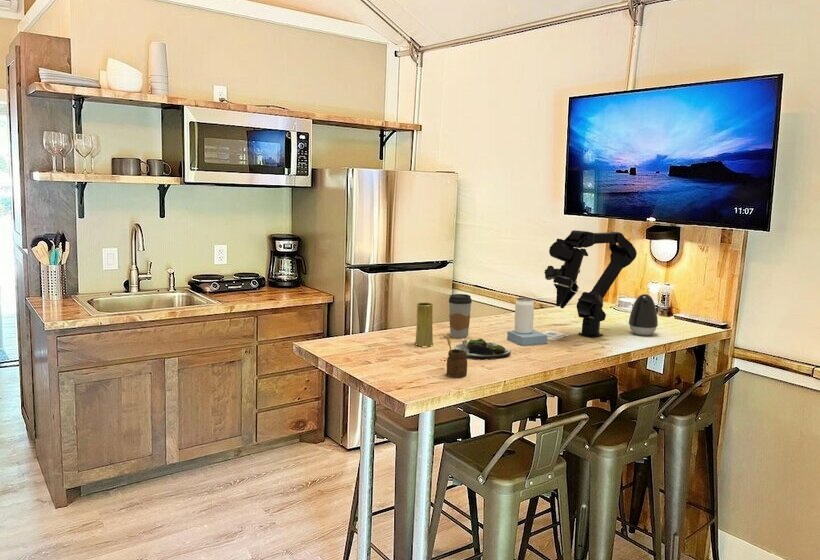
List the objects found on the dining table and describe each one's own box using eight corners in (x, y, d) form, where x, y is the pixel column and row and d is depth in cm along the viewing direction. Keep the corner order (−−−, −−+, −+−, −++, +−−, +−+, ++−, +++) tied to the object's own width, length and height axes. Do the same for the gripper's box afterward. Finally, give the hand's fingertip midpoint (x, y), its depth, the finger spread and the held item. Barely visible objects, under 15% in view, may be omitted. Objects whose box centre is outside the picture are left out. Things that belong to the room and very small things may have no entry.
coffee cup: (472, 334, 236) (473, 294, 234) (468, 340, 228) (469, 298, 226) (450, 333, 239) (451, 293, 236) (445, 338, 231) (446, 296, 228)
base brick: (530, 337, 234) (531, 329, 234) (547, 343, 225) (547, 335, 225) (507, 339, 231) (507, 331, 230) (522, 346, 221) (522, 337, 221)
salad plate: (442, 347, 219) (442, 334, 219) (489, 343, 226) (489, 330, 225) (466, 362, 201) (467, 348, 201) (516, 358, 208) (517, 344, 207)
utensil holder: (463, 378, 184) (464, 337, 182) (442, 376, 186) (443, 335, 184) (469, 373, 189) (470, 333, 187) (449, 370, 191) (450, 331, 190)
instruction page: (548, 330, 245) (548, 330, 245) (569, 334, 239) (569, 334, 239) (531, 336, 236) (531, 335, 236) (553, 340, 230) (553, 339, 230)
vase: (412, 345, 219) (413, 304, 217) (418, 341, 225) (419, 301, 223) (429, 347, 217) (430, 306, 215) (435, 343, 223) (436, 303, 221)
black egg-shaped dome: (628, 336, 238) (631, 295, 236) (627, 330, 248) (630, 291, 246) (658, 338, 236) (661, 297, 233) (655, 332, 246) (658, 292, 243)
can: (517, 334, 225) (519, 300, 223) (511, 330, 232) (513, 297, 230) (535, 334, 226) (536, 300, 224) (529, 329, 233) (530, 297, 231)
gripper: (554, 263, 240) (542, 303, 240) (545, 255, 223) (532, 298, 223) (584, 270, 236) (571, 311, 236) (577, 263, 219) (564, 307, 218)
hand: (559, 307), depth 228 cm, fingers open, 9 cm apart
